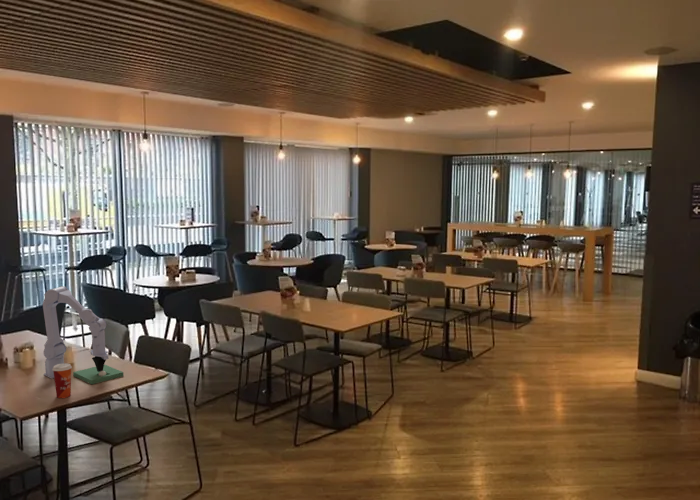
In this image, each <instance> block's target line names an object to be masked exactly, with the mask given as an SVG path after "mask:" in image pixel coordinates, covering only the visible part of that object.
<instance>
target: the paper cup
mask: <svg viewBox="0 0 700 500" xmlns="http://www.w3.org/2000/svg"><path fill="white" fill-rule="evenodd" d="M72 367H73V366H72V365H71V364H70V363H67V362H64V363H63V364H57V365H55V366H54V367H53V369H52V370H53V372H54V378H53V379H54V385H55V386H54V387H55V395H56V398H58V399H65V398H68V397H71V393H72V392H71V391H72Z"/></svg>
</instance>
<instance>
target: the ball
mask: <svg viewBox="0 0 700 500" xmlns="http://www.w3.org/2000/svg"><path fill="white" fill-rule="evenodd" d="M105 375H106V372H105V371H101V372H99V376H100V377H101V376H105Z"/></svg>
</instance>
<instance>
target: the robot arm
mask: <svg viewBox="0 0 700 500" xmlns="http://www.w3.org/2000/svg"><path fill="white" fill-rule="evenodd" d="M43 295H44V296H43V297H44V299H43V302H42V309H43V317H44V322H45V323H44V325H45V331H46V341H45V343H44V345H43V346H44V350H43V356H44V358H45V360H44V363H45V364H44V368H45V373H43V375H44V376H45V377H47V378H49V379H54V372H53V370H52V369H53V367H54V366H55V365H57V364H63V363H65V360H64V359H65V358H64V356H65V353H66V351H67V346H66V344H65V342H64V339H63V338H62V337H60V336H61V335H60V327H59V322H58V313H57V305H58V304H60V303H61V304H62V303H63V304H66V305H68V306H69V307H71V308H72V309H73V310H74V311H75V312H76V313H78V317H79V318H80V320H82V321H83V323H85V324H86V325H87V326H88V330H89V332H90V333H91V343H92V345H91V346H92V347H91V348H92V350H90V351H89V353H90V356H91V355H92V356H93V357H92V358H91V359H92V361H93V363H94V365H95V367H96V368H97V371H98V372H101V371H103V367H104V365H105V362H106V361H107V360H109V355H108V353H109V352H108V350H106V336H105V335H106V332H105V331H106V330H105V329H106V328H107V325H108V324H107V321H106V320H105V319H104V318H100V317H99V316H97V315H96V313H94V312H93V310H92V309H90V308H85V307H84V305H82V304H81V303H80V302H79V301H78V300H77V298H75V297H74V295H73V294H72V291H71V290H69V289H68V288H67V286H63V285H61V286H59V287H54V288H50V289H48V290H47V291H45V292H44V294H43Z"/></svg>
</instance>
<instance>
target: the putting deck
mask: <svg viewBox="0 0 700 500" xmlns="http://www.w3.org/2000/svg"><path fill="white" fill-rule="evenodd" d="M103 371H105V372H106V375H105V376H101V377H100V376H99V372H98V371H97V368H96V366H93V367H89V368H84V369H79V370H77V371H73V372H72V373H73V375H72V376H73V377H74V378H77V379H79V380H81V381H83V382H85V383H88V384H90V385H94V384H98V383H102V382H105V381H110V380H114V379H117V378H122V377H124V371H122V370H119V369H117V368H114V367H112V366H109V365H107V364H104V367H103Z"/></svg>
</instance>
